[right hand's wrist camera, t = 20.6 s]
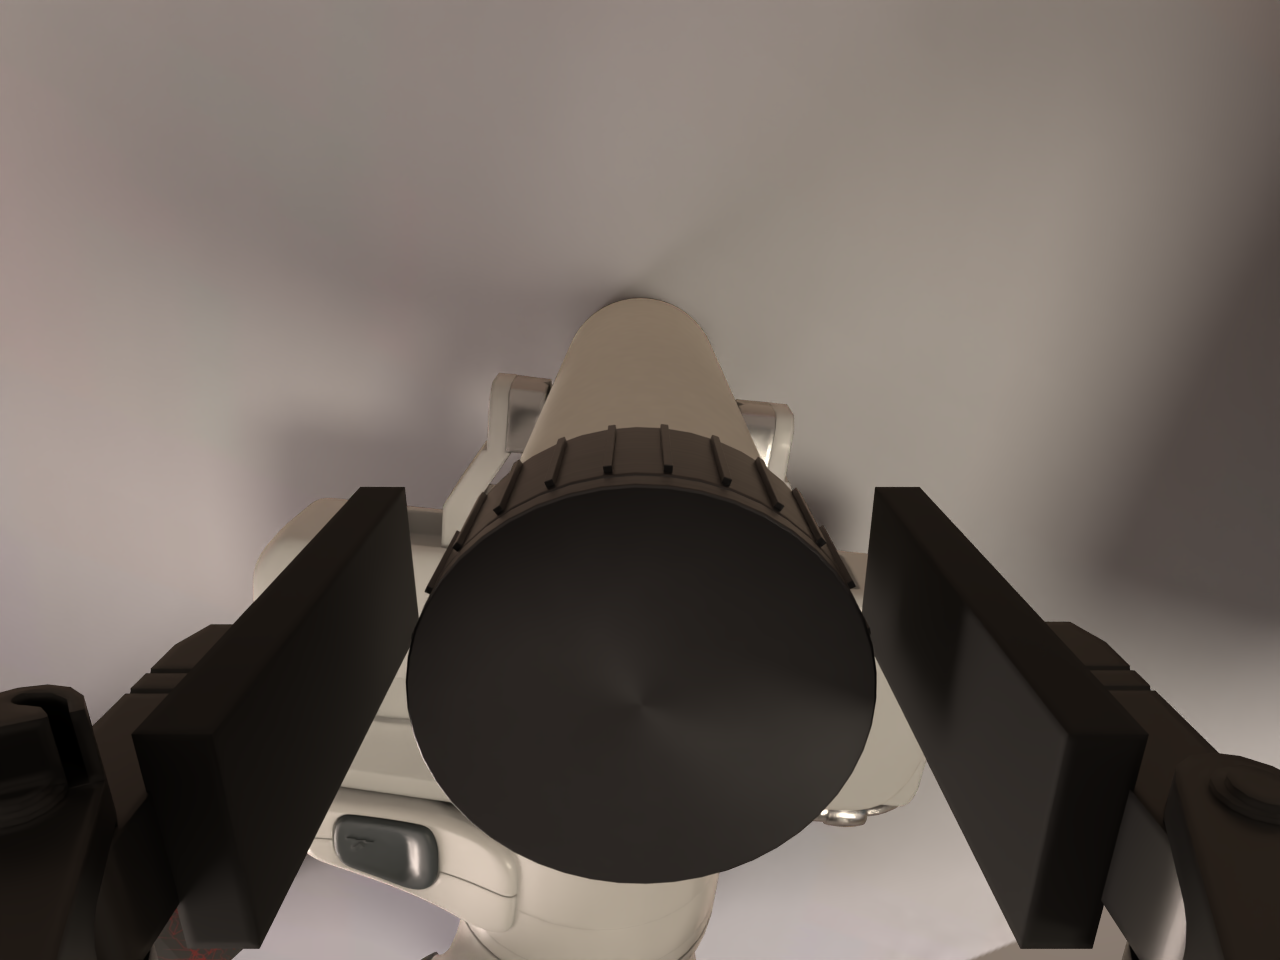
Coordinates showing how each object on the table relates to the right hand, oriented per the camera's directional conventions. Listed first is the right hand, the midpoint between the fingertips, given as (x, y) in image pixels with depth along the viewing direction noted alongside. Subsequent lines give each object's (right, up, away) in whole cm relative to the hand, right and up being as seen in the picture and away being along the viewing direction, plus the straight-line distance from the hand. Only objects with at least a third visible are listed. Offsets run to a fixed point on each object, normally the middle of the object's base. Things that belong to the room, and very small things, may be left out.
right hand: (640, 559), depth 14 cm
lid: (0, -1, -4) cm, 4 cm away
